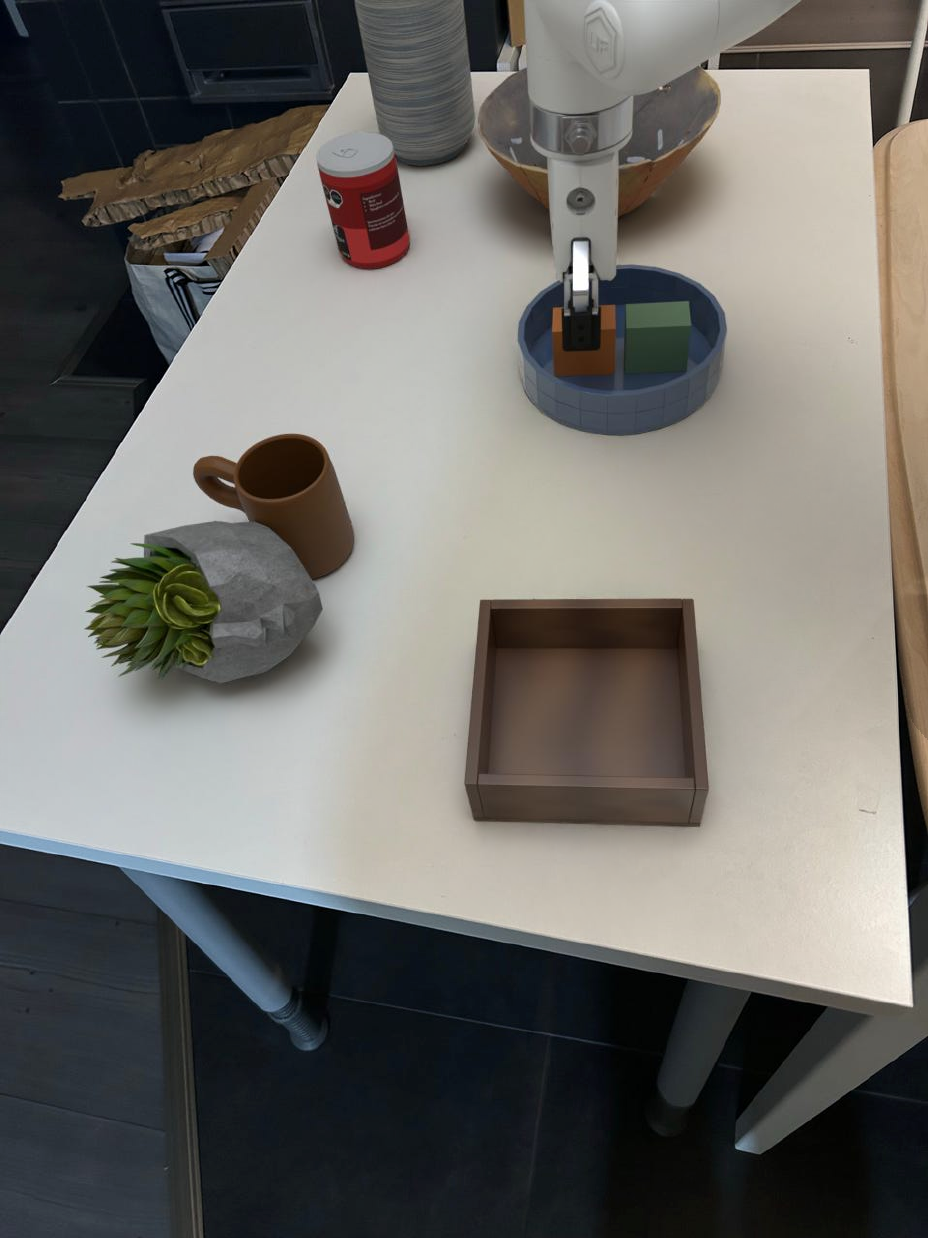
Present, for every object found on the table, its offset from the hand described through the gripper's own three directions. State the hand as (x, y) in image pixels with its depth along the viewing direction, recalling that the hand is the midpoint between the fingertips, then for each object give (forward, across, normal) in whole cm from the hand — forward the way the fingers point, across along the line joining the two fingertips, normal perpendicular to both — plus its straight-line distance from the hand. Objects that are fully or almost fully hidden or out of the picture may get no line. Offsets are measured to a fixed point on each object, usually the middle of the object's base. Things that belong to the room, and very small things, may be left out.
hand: (581, 312), depth 81 cm
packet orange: (+5, 0, 0) cm, 5 cm away
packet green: (+5, 0, -7) cm, 9 cm away
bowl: (+6, +29, -1) cm, 30 cm away
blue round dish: (+6, 0, -3) cm, 7 cm away
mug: (+6, -21, +24) cm, 33 cm away
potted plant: (+6, -32, +26) cm, 42 cm away
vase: (+7, +42, +19) cm, 46 cm away
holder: (+6, -38, 0) cm, 39 cm away
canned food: (+6, +21, +23) cm, 31 cm away
